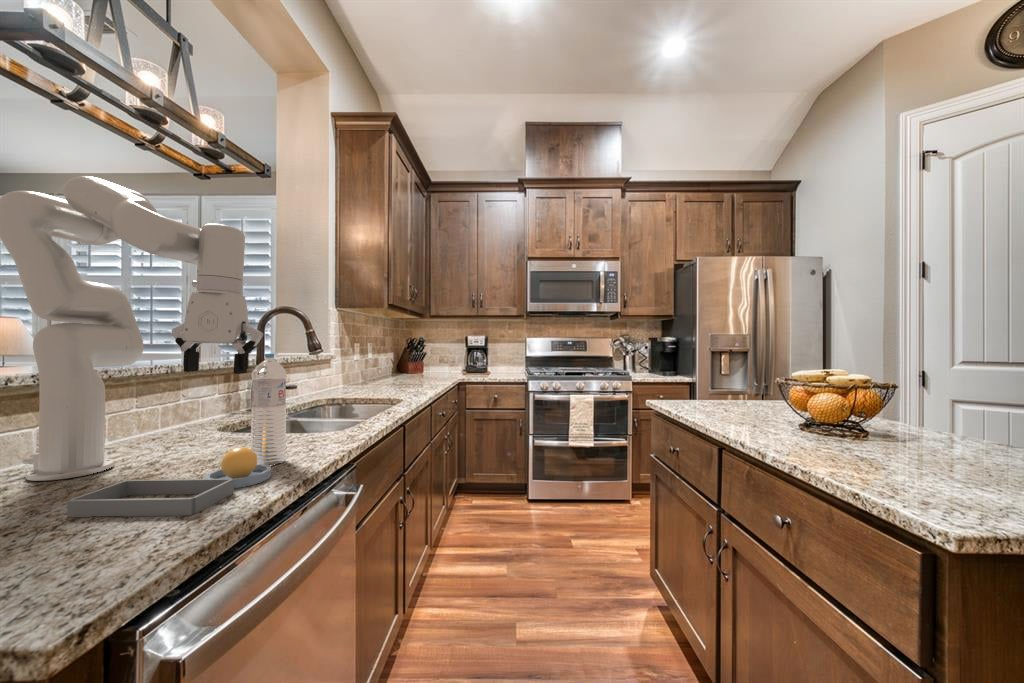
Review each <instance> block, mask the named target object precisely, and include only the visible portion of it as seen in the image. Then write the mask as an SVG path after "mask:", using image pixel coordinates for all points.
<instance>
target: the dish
mask: <svg viewBox="0 0 1024 683" xmlns="http://www.w3.org/2000/svg"><path fill="white" fill-rule="evenodd" d="M271 467H272V466H269V465H264V464H257V465H256V468H255V469H254V471H253V472H252V473H251V474H249V475H248V476H246V477H242V478H235V479H234V488H233V490H235V489H236V488H237V489H242V488H241V487H243V488H247V487H246V486H248V487H251V486H250V485H252V486H255V485H254V484H256V485H258V484H257V483H259V484H261V482H262V483H264V482H266V481H268V480H270V478H271V477H272V469H271ZM270 476H271V477H270ZM204 479H233V478H230V477H228V476H226V475H225V474H224V473H223V472H222V469H221V468H219V469H216V470H214V471H211V472H208V473H206V475H205V477H204ZM267 479H268V480H267ZM265 480H266V481H265ZM263 481H264V482H263Z"/></svg>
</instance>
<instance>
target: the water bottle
mask: <svg viewBox="0 0 1024 683" xmlns="http://www.w3.org/2000/svg"><path fill="white" fill-rule="evenodd" d="M264 357H265V358H264V359H265V360H263V361H261V362H260V363H258V365H257V366H255V367H254V368H253V370H252V372H251V381H252V383H251V385H252V386H251V409H250V410H251V412H250V413H251V419H250V423H251V424H250V427H251V428H250V449H251V450H253V451H254V452H255V454H256V456H257V464H264V465H269V466H270V465H274V464H278V463H281V462H283V461H284V462H285V461H286V451H287V449H286V448H287V445H286V444H287V433H286V432H287V404H286V395H287V394H286V392H287V391H286V388H287V387H286V385H287V370H286V369H285V367H284V366H283V365H281V363H280V362H278V361H277V360H275V359H274V358H275V353H265V354H264ZM284 462H283V463H284ZM281 464H282V463H281Z"/></svg>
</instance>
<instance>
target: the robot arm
mask: <svg viewBox="0 0 1024 683" xmlns="http://www.w3.org/2000/svg"><path fill="white" fill-rule="evenodd" d="M62 194H63V197H64V199H63V198H59V197H56V196H53V195H49V194H46V193H42V192H36V191H31V190H30V191H29V190H13V191H9V192H6V193H5V194H3V195H2V196H0V241H1V242H2V244H3V245H4V247H5V249H6V250H7V252H8V253H9V255H10V256H11V258H12V260H13V261H14V263H15V266H16V268H17V272H18V275H19V279H20V281H21V284H22V287H23V290H24V293H25V296H26V299H27V302H28V304H29V307H30V308H31V310H32V312H33V313H34V315H36V316H37V317H39V318H40V319H43V320H46V321H52V322H53V321H54V322H61V323H55V324H54V323H53V324H50V325H45V326H44V327H42V328H41V329H40V330H39V331H38V332H36V334H35V335H34V338H33V340H32V350H33V354H34V358H35V362H36V366H37V372H38V381H39V382H38V383H39V397H38V398H39V399H38V400H39V406H38V407H39V411H38V412H39V413H38V416H39V417H38V418H39V419H38V450H37V452H34V453H32V454H31V453H30V455H29V457H28V456H27V457H24V458H23V459H22V464H23V465H33V467H32V468H33V469H32V470H29V471H28V472H27V473H25V479H26V480H27V481H33V482H37V481H38V482H43V481H44V482H45V481H46V482H49V481H56V480H57V481H58V480H66V479H72V478H78V477H83V476H87V475H88V476H89V475H93V473H94V474H96V473H97V472H98V473H101V472H104V470H105V471H107V470H109V468H110V469H111V467H112V468H113V467H114V466H115V460H113V459H110V458H105V439H106V438H105V437H106V435H105V434H106V431H105V430H106V385H105V383H104V380H103V379H102V377H101V376H100V375H99V374H98V372H97V371H96V370H95V368H100V367H101V368H104V367H105V368H108V367H109V368H111V367H122V366H123V367H124V366H128V365H132V364H134V363H136V362H138V360H139V359H140V358H141V357H142V354H143V352H144V340H143V336H142V333H141V330H140V327H139V325H138V322H137V320H136V317H135V314H134V311H133V308H132V306H131V304H130V301H129V298H128V297H127V295H126V294H125V293H124V292H123V291H122V290H120V289H119V288H117V287H115V286H114V285H110V284H107V283H100V282H94V281H88V280H85V279H83V277H81V276H80V274H79V272H78V270H77V267H76V266H77V265H76V263H75V262H74V260H73V258H72V256H70V254H69V253H68V252H67V251H66V250H65V249H64V248H63V247H62V246H61V245H59V244H58V242H56V241H55V240H54V239H52V237H54V238H59V239H63V240H68V241H72V242H77V243H80V244H86V245H90V246H91V245H92V246H102V245H107V244H111V243H113V242H115V241H117V240H121V241H123V242H125V243H126V244H129V245H131V246H132V247H135V248H137V249H138V250H141V251H143V252H146V253H148V254H151V255H154V256H158V257H163V258H166V259H171V260H175V261H180V262H182V263H183V262H185V263H188V264H193V265H197V273H196V274H197V275H196V280H192V282H191V286H192V288H196V289H195V291H193V292H191V294H190V297H189V299H188V302H187V306H186V312H185V317H184V322H183V323H182V324H180V325H178V326H176V327H173V328H171V333H172V335H173V338H174V339H175V340H174V341H175V344H177V346H178V347H179V349H180V352H183V359H182V360H183V363H182V366H183V372H184V373H190V372H191V373H192V372H198V371H199V368H200V351H197V350H198V349H199V348H200V347H201V346H202V345H203V344H217V345H218V344H220V345H221V344H225V345H227V344H229V345H230V344H231V345H232V346H233V349H235V350H236V352H237V353H234V356H233V374H235V375H240V374H246V373H247V372H248V368H249V357H250V356H249V355H250V354H251V353H252V352H253V351H254V350H255V348H257V347H259V343H260V341H261V340H262V338H263V336H264V332H262V331H260V330H258V329H256V328H255V327H253V326H251V325H250V324H249V313H248V312H249V311H248V305H247V300H246V296H244V295H243V287H244V286H243V284H244V282H243V281H244V269H245V268H244V267H245V266H244V265H245V247H246V236H245V233H244V232H243V231H242V230H240V229H238V228H237V227H234V226H231V225H225V224H221V223H220V224H219V223H207V224H204V225H202V226H201V227H197V226H193V225H191V224H188V223H186V222H185V223H184V222H182V221H180V220H177V219H174V218H170V217H166V216H163V215H161V214H159V213H158V211H157V210H156V208H155V206H154V205H153V204H152V203H151V202H150V200H149V199H148V198H147V197H146V196H145V195H144V194H141V193H140V192H137V191H135V190H132V189H129V188H126V187H124V186H121V185H119V184H116V183H114V182H110V181H108V180H105V179H102V178H99V177H94V176H88V175H79V176H75V177H74V176H73V177H72V178H70V179H68V180H66V182H65V183H64V185H63V188H62ZM248 335H249V336H250V340H249V341H248V337H249V336H248ZM106 469H107V470H106Z"/></svg>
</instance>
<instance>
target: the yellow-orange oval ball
mask: <svg viewBox="0 0 1024 683" xmlns="http://www.w3.org/2000/svg"><path fill="white" fill-rule="evenodd" d="M256 465H257V456H256V454H255V452H254V451H253V450H251V448H249V447H246V446H239V447H235V448H232V449H230V450H229V451H227V452H226V453H225V455H224V456H223V457H222V458H221V461H220V469H222V472H223V473H224V474H225V475H226V476H228V477H230V478H233V479H235V478H242V477H246V476H248V475H249V474H251V473H252V472H253V471H254V469H255V468H256Z"/></svg>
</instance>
